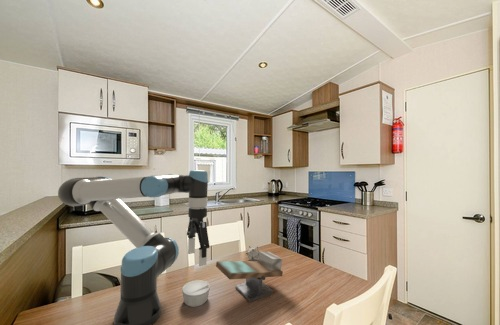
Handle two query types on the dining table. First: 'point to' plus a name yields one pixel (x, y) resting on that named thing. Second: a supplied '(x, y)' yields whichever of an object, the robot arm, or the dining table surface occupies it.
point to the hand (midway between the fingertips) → (196, 258)
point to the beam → (252, 267)
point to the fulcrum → (253, 289)
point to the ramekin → (195, 293)
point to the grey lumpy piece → (253, 253)
